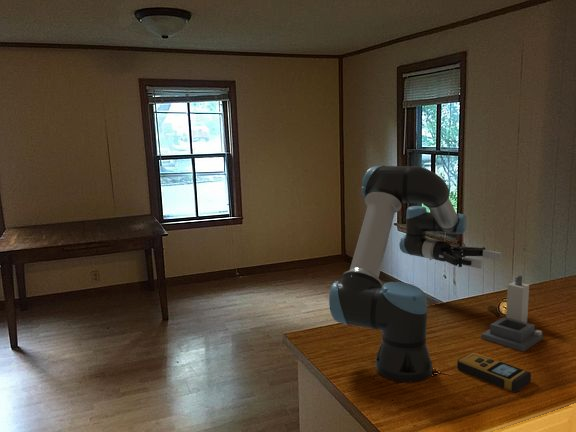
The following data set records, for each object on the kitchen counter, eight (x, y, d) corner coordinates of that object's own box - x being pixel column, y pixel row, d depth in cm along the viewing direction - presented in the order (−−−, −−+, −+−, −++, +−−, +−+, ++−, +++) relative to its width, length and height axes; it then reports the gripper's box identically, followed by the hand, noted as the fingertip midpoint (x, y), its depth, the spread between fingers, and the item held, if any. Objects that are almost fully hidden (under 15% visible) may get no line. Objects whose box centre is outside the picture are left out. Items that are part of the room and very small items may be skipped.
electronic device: (472, 361, 137) (473, 349, 137) (531, 383, 125) (532, 370, 124) (454, 371, 132) (455, 359, 131) (514, 394, 119) (515, 381, 119)
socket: (523, 351, 141) (524, 337, 140) (481, 338, 151) (481, 324, 150) (542, 338, 149) (543, 324, 148) (501, 326, 159) (501, 313, 158)
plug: (520, 325, 159) (523, 279, 157) (505, 321, 163) (508, 275, 160) (527, 322, 162) (529, 276, 159) (512, 318, 166) (514, 273, 163)
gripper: (454, 253, 192) (507, 263, 176) (417, 266, 176) (472, 279, 160) (455, 234, 191) (508, 243, 175) (418, 246, 175) (472, 257, 159)
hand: (491, 260), depth 168 cm, fingers open, 13 cm apart
